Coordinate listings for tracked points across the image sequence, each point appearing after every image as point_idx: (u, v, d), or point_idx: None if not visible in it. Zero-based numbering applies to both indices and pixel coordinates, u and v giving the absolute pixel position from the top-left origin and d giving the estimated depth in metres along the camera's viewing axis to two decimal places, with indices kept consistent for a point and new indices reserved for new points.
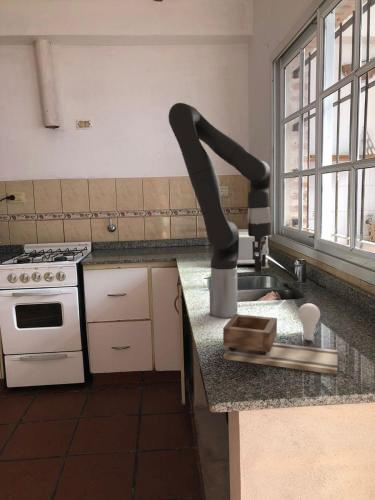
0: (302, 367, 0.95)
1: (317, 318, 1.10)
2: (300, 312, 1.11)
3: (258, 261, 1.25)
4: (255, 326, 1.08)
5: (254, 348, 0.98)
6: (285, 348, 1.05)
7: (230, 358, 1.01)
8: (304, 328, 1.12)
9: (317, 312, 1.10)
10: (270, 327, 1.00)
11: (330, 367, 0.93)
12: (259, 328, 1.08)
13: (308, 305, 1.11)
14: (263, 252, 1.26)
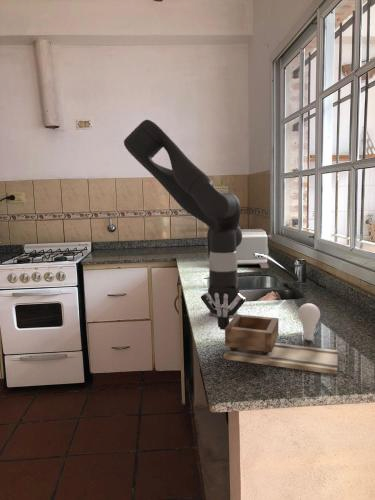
0: (302, 367, 0.95)
1: (317, 318, 1.10)
2: (300, 312, 1.11)
3: None
4: (257, 326, 1.08)
5: (256, 348, 0.98)
6: (285, 348, 1.05)
7: (230, 358, 1.01)
8: (304, 328, 1.12)
9: (317, 312, 1.10)
10: (272, 327, 1.00)
11: (330, 367, 0.93)
12: (261, 328, 1.08)
13: (308, 305, 1.11)
14: (229, 304, 1.07)
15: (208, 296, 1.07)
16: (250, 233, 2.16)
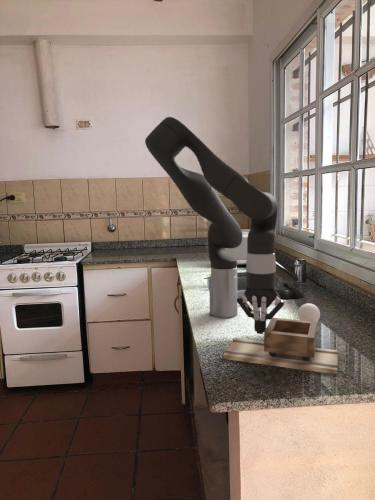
0: (302, 367, 0.95)
1: (317, 318, 1.10)
2: (300, 312, 1.11)
3: None
4: (294, 330, 1.05)
5: (297, 353, 0.95)
6: None
7: (230, 358, 1.01)
8: None
9: (317, 312, 1.10)
10: (313, 331, 0.96)
11: (330, 367, 0.93)
12: (298, 332, 1.04)
13: (308, 305, 1.11)
14: None
15: (244, 299, 1.03)
16: None
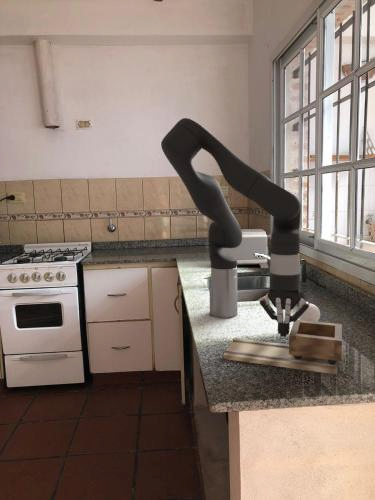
0: (302, 367, 0.95)
1: (317, 318, 1.10)
2: None
3: None
4: (318, 333, 1.02)
5: (324, 356, 0.92)
6: (285, 348, 1.05)
7: (230, 358, 1.01)
8: None
9: (317, 312, 1.10)
10: (339, 334, 0.94)
11: (330, 367, 0.93)
12: (322, 335, 1.02)
13: None
14: None
15: (267, 301, 1.01)
16: (250, 233, 2.16)
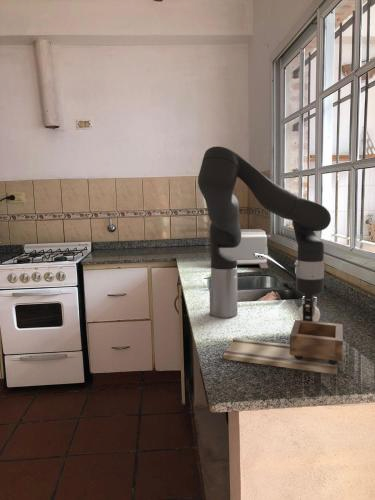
0: (302, 367, 0.95)
1: (317, 318, 1.09)
2: (300, 312, 1.11)
3: None
4: (319, 333, 1.02)
5: (324, 357, 0.92)
6: (285, 348, 1.05)
7: (230, 358, 1.01)
8: None
9: (317, 312, 1.09)
10: (340, 334, 0.94)
11: (330, 367, 0.93)
12: (323, 335, 1.02)
13: None
14: None
15: None
16: (249, 233, 2.16)
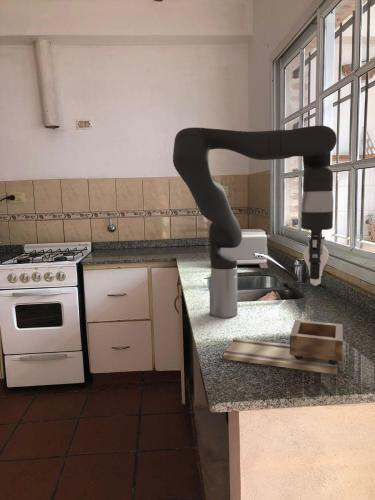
0: (302, 367, 0.95)
1: (325, 259, 0.95)
2: (306, 252, 0.97)
3: None
4: (319, 333, 1.02)
5: (324, 357, 0.92)
6: (285, 348, 1.05)
7: (230, 358, 1.01)
8: None
9: (325, 252, 0.95)
10: (340, 334, 0.94)
11: (330, 367, 0.93)
12: (323, 335, 1.02)
13: None
14: None
15: None
16: (249, 233, 2.16)
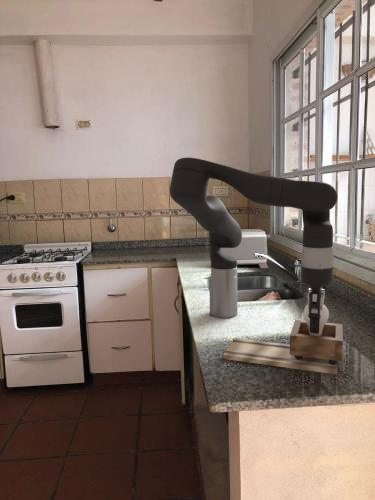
0: (302, 367, 0.95)
1: (325, 319, 0.96)
2: (306, 312, 0.97)
3: None
4: None
5: (324, 357, 0.92)
6: (285, 348, 1.05)
7: (230, 358, 1.01)
8: None
9: (326, 312, 0.95)
10: (340, 334, 0.94)
11: (330, 367, 0.93)
12: (323, 335, 1.02)
13: None
14: None
15: None
16: (249, 233, 2.16)
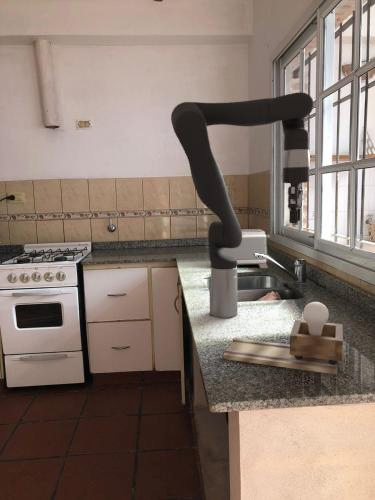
0: (302, 367, 0.95)
1: (325, 319, 0.96)
2: (306, 312, 0.97)
3: None
4: None
5: (324, 357, 0.92)
6: (285, 348, 1.05)
7: (230, 358, 1.01)
8: (310, 330, 0.98)
9: (325, 312, 0.95)
10: (340, 334, 0.94)
11: (330, 367, 0.93)
12: (323, 335, 1.02)
13: (315, 304, 0.97)
14: None
15: None
16: (249, 233, 2.16)
